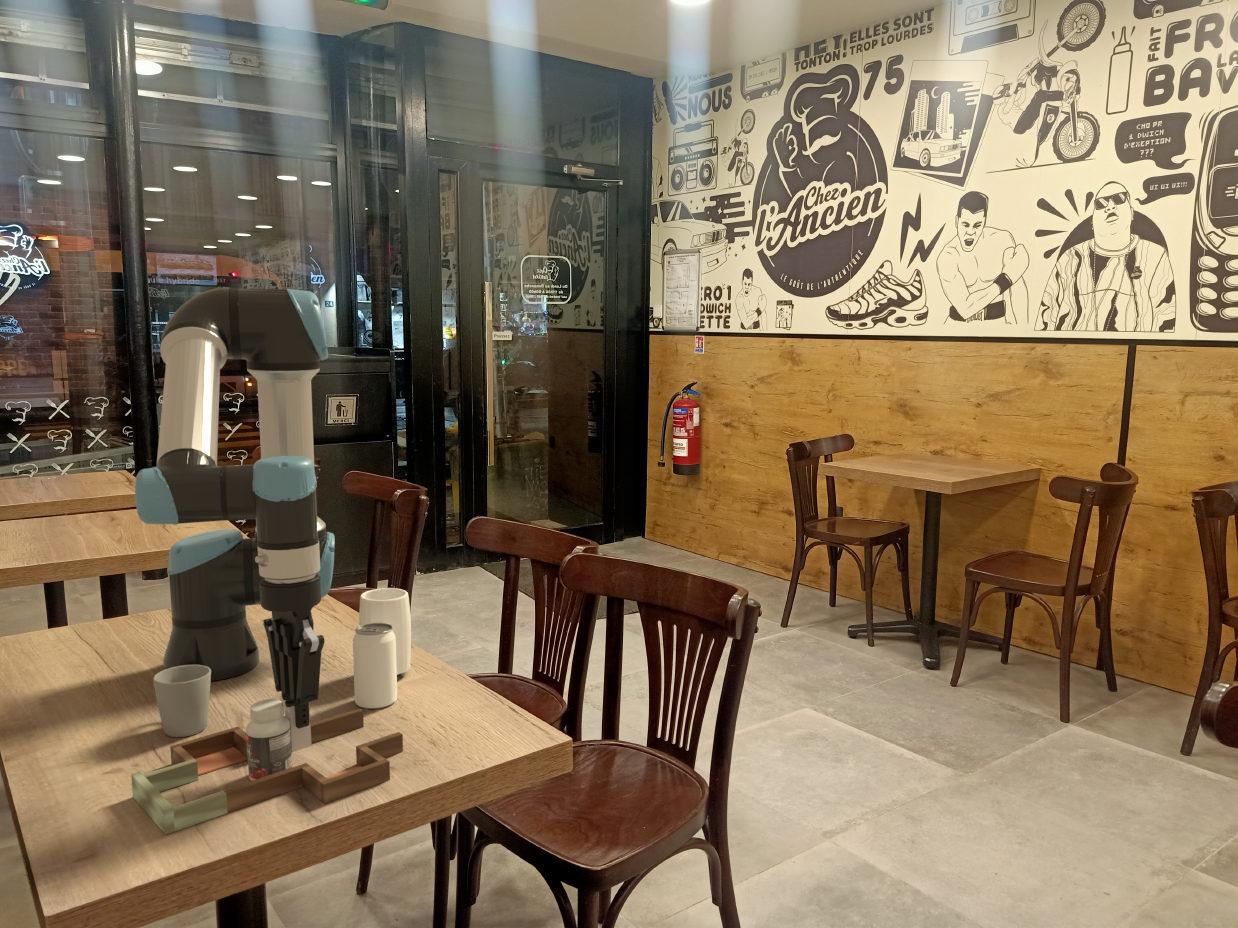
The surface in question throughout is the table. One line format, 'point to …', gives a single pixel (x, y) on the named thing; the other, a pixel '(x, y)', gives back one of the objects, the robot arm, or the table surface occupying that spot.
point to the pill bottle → (268, 739)
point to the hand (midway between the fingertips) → (299, 746)
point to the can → (375, 666)
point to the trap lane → (232, 750)
